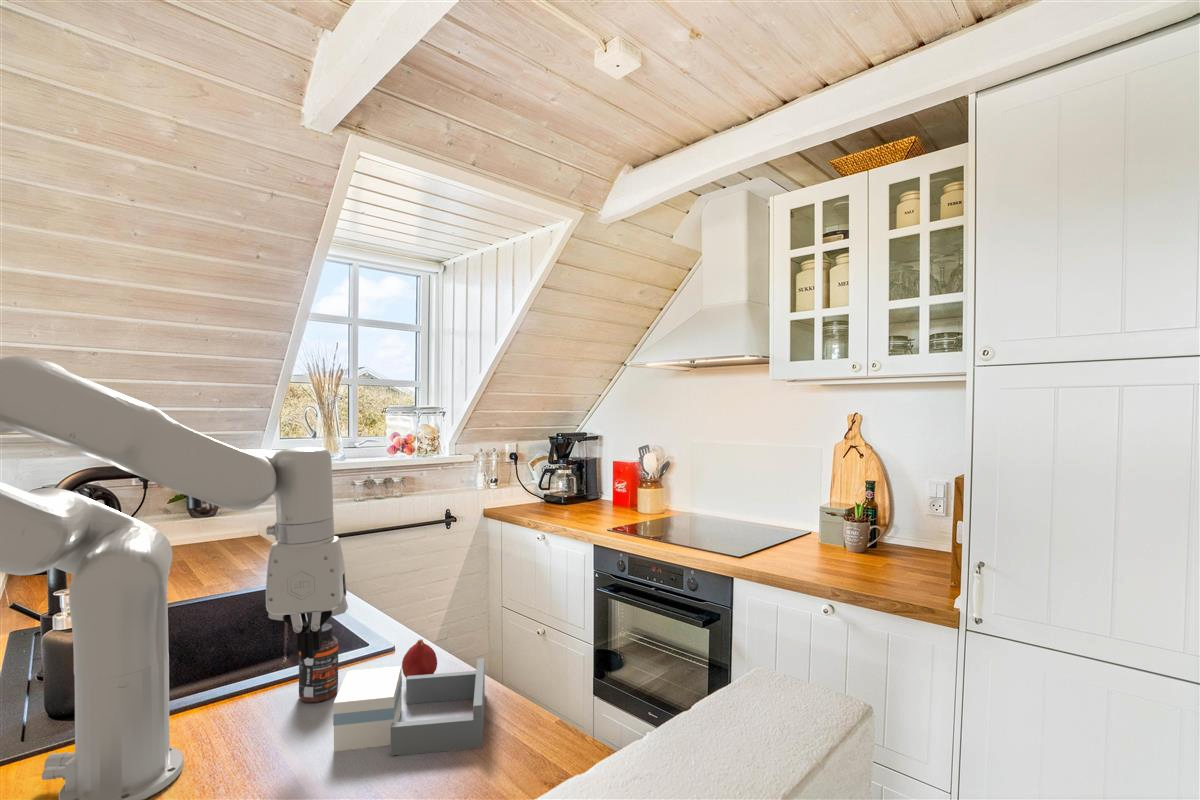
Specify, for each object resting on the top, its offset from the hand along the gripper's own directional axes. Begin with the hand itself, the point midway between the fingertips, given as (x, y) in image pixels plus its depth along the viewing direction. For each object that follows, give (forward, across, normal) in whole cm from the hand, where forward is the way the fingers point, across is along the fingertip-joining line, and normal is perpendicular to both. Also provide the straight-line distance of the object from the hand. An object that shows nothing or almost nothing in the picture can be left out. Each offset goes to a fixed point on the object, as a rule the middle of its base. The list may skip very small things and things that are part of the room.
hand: (310, 654), depth 89 cm
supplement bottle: (+12, -2, +12) cm, 17 cm away
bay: (+12, +19, 0) cm, 22 cm away
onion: (+12, +14, +12) cm, 22 cm away
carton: (+12, +8, 0) cm, 14 cm away
